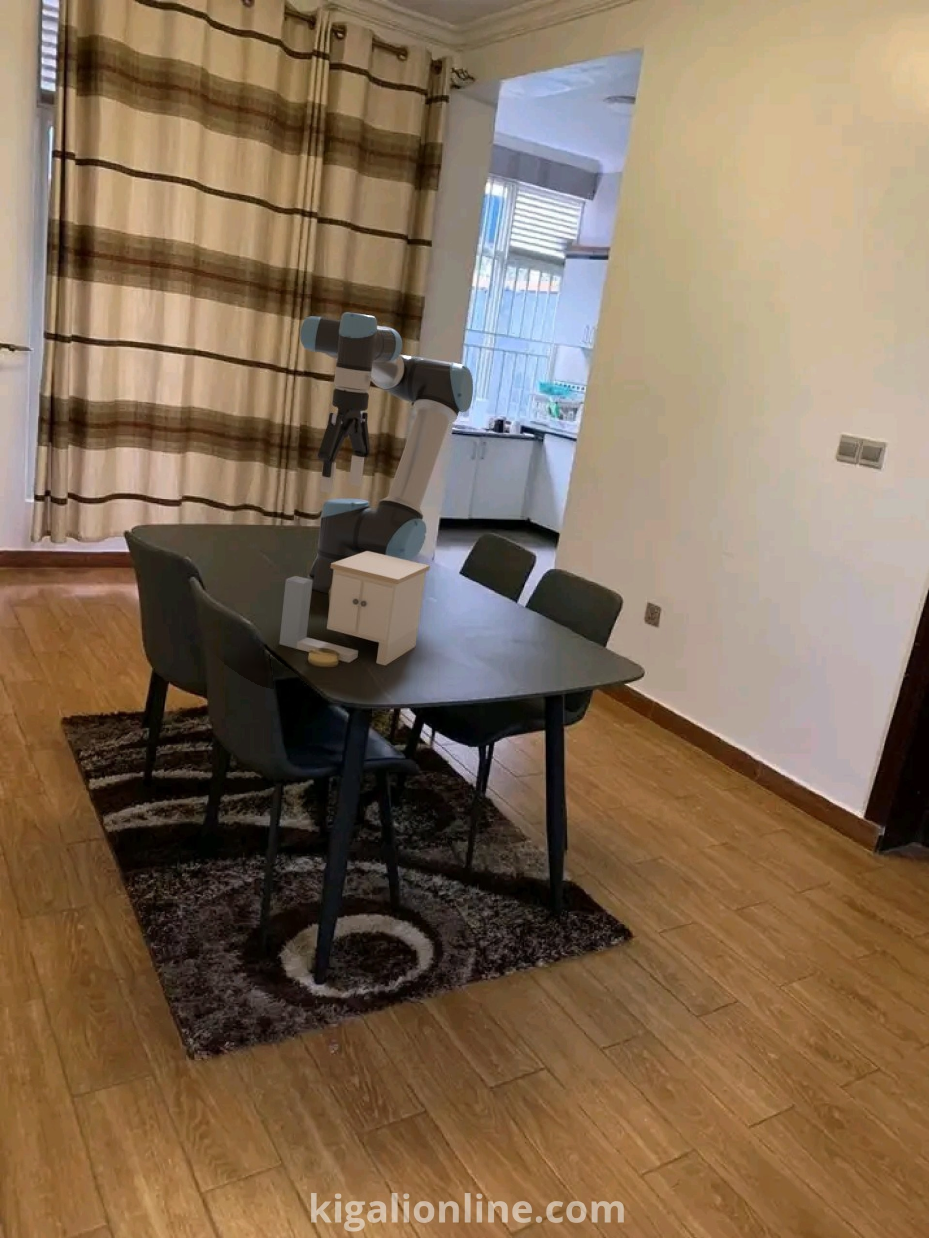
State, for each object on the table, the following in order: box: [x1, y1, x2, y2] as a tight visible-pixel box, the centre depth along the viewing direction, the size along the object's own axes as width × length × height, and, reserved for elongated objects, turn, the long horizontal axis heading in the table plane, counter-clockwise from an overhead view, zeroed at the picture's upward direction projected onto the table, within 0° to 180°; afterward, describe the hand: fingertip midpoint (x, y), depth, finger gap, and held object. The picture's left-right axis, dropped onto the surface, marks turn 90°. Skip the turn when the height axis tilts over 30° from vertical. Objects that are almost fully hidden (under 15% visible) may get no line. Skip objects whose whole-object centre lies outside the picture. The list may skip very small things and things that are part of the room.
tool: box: [279, 575, 359, 663], centre depth 191 cm, size 16×4×14 cm, turn 71°
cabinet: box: [326, 551, 431, 666], centre depth 197 cm, size 15×18×18 cm
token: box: [307, 648, 340, 668], centre depth 187 cm, size 6×6×2 cm
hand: (341, 488), depth 204 cm, fingers open, 13 cm apart
